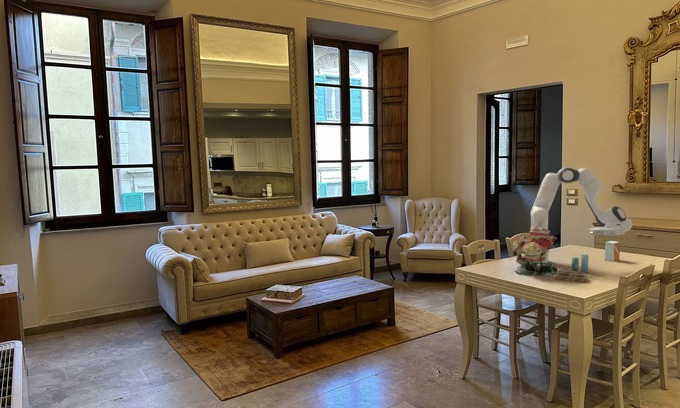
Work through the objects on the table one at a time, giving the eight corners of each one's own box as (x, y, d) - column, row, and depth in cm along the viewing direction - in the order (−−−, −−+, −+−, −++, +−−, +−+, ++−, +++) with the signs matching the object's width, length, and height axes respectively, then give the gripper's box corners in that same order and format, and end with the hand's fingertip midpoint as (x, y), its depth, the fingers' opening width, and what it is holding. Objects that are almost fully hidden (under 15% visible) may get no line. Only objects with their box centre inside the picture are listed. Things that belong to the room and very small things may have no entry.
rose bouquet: (510, 266, 324) (511, 223, 321) (557, 269, 313) (558, 224, 310) (508, 275, 300) (509, 228, 298) (559, 278, 289) (560, 229, 286)
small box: (613, 261, 332) (614, 243, 331) (604, 260, 337) (605, 242, 336) (619, 260, 336) (620, 241, 335) (610, 258, 342) (611, 240, 341)
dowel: (580, 272, 302) (581, 255, 301) (581, 271, 306) (581, 254, 305) (587, 273, 300) (588, 256, 299) (588, 271, 304) (588, 255, 303)
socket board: (556, 279, 285) (556, 275, 285) (558, 276, 294) (558, 272, 294) (586, 282, 278) (586, 278, 277) (587, 278, 286) (587, 274, 286)
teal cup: (558, 274, 299) (559, 258, 298) (559, 272, 305) (560, 255, 304) (580, 276, 293) (580, 259, 292) (580, 273, 299) (581, 257, 298)
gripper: (597, 224, 321) (582, 228, 316) (625, 224, 302) (610, 229, 297) (598, 233, 322) (584, 237, 317) (626, 234, 303) (611, 239, 298)
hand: (597, 233), depth 307 cm, fingers open, 8 cm apart
